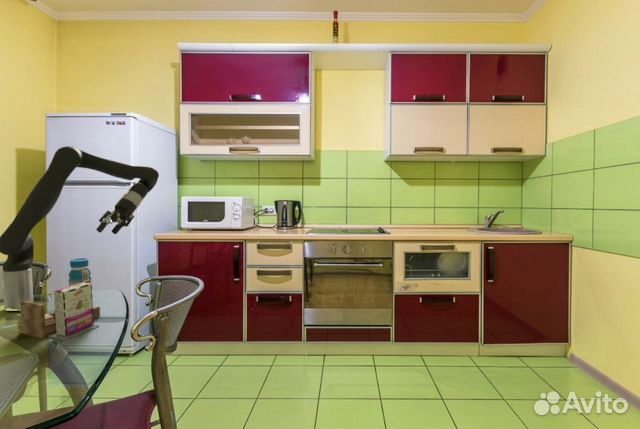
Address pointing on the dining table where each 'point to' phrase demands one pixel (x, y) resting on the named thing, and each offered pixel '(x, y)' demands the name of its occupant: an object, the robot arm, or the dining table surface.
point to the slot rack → (40, 319)
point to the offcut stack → (48, 319)
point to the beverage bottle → (79, 271)
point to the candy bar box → (73, 308)
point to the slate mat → (72, 334)
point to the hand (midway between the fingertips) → (105, 232)
